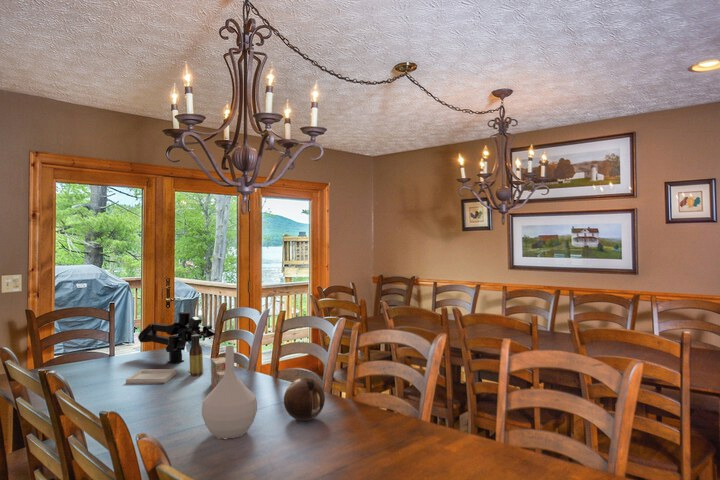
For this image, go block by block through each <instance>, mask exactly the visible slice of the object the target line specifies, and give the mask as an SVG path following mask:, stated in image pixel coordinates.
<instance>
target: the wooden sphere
mask: <svg viewBox="0 0 720 480" xmlns="http://www.w3.org/2000/svg"><path fill="white" fill-rule="evenodd" d="M325 398H326V396H325V392H324V389H323V387H322V385H321V384H319V382H317V381H316V380H314V379H312V378H308V377H301V378H297V379H295V380H294V381H292V382H291V383H290V384H289V385H288V386H287V388H285V392H284V395H283V405H284V409H285V411H286V412H287V414H288V415H289V416H290V417H292V418H293V420H294V419H295V420H296V421H297V420H298V421H301V422H305V421H307V422H308V421H311V420H312V419H315V418H316V417H318V416H319V415H320V413H321V412H322V410H323V409H324V407H325V402H326V399H325Z"/></svg>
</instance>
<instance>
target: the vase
mask: <svg viewBox="0 0 720 480" xmlns="http://www.w3.org/2000/svg"><path fill="white" fill-rule="evenodd" d="M234 348H235V347H234V345H225V356H224V357H225V374H224V376H223V378H222V379H221V381H220V382H219V383H218V384H217V386H216V387H215V388H212V390H211V391H210V392H209V393H208V395H207V396H205V398H204V399H203V401H202V406H201V416H202V420H203V422H204V425H205V427H206V428H207V430H208V431H209V432H210V434H211V435H212V436H214V437H215V438H217V439H220V438H223V439H222V440H225V439H224V438H233V439H236V438H235V437H237V438H240V437H242V436H244V435H245V434H246V433H247V432H248V431H249V429H250V428H251V426H252V425H253V423H254V422H255V418H256V415H257V412H258V400H257V396H256V394H255V393H253V392H252V391H251V390H250V389H249V388H248V387H247V386H246V385H245V384H244V383H243V382H242V381H241V379H240V378H238V377H237V375H236V373H235V372H236V371H235V351H234V350H235V349H234ZM243 434H244V435H243ZM241 435H242V436H241ZM239 436H240V437H239Z"/></svg>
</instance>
